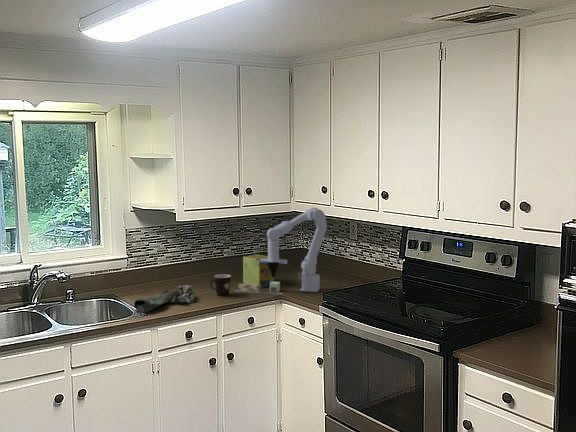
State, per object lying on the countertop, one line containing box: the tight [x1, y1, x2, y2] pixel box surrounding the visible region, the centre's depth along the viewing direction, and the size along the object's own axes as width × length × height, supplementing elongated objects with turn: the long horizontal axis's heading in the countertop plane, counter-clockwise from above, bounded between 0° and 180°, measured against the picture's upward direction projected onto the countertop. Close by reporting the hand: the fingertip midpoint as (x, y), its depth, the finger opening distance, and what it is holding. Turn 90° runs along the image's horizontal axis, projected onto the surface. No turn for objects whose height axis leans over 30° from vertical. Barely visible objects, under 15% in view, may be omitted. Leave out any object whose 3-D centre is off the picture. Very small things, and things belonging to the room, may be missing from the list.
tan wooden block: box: [237, 283, 262, 294], centre depth 331 cm, size 12×3×4 cm, turn 75°
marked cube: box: [269, 281, 281, 293], centre depth 333 cm, size 4×5×4 cm
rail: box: [234, 289, 284, 295], centre depth 330 cm, size 26×2×1 cm, turn 75°
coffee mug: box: [209, 273, 232, 297], centre depth 324 cm, size 12×9×10 cm
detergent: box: [133, 289, 175, 313], centre depth 303 cm, size 13×7×25 cm
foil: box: [173, 283, 197, 305], centre depth 314 cm, size 12×11×15 cm
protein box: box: [242, 254, 275, 289], centre depth 348 cm, size 10×15×16 cm
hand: (273, 276), depth 330 cm, fingers closed
